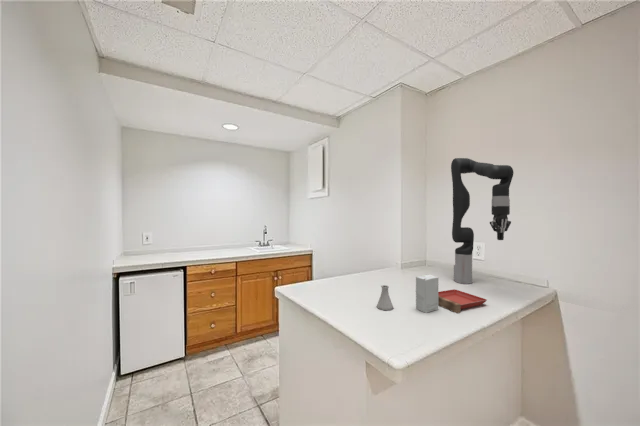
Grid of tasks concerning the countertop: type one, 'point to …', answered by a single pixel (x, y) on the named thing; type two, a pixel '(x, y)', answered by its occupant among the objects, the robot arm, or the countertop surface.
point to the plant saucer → (462, 298)
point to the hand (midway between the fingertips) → (500, 240)
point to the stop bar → (449, 304)
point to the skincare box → (427, 293)
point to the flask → (384, 299)
